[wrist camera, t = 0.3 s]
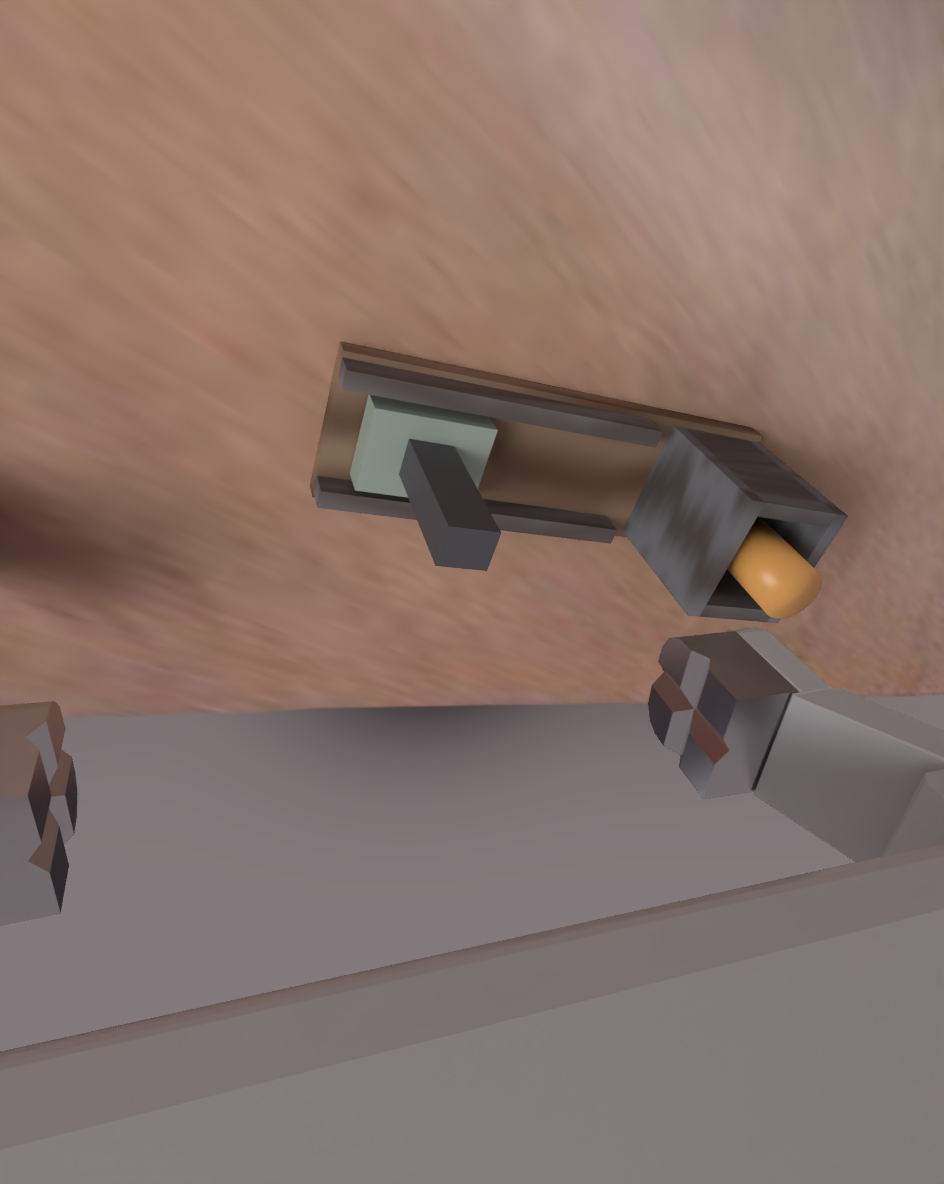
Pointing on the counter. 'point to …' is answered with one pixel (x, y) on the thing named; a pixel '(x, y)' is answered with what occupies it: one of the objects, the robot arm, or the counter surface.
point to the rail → (592, 473)
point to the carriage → (431, 474)
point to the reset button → (774, 572)
